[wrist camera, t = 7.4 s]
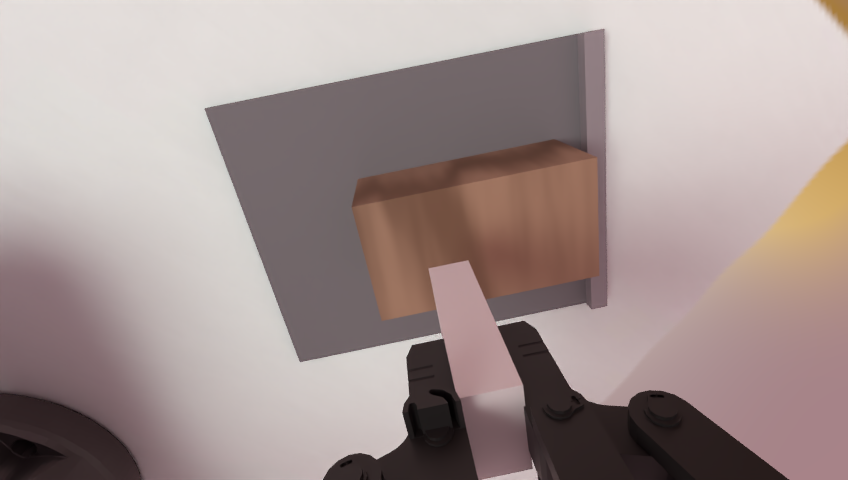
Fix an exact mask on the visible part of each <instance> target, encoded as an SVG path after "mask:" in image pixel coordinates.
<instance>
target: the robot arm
mask: <svg viewBox="0 0 848 480" xmlns="http://www.w3.org/2000/svg"><path fill="white" fill-rule="evenodd" d="M428 269H429V274H430V279H431V284H432V288H433V293H434V298H435V303H436V308H437V313H438V318H439V323H440V328H441V333H442V338H443V339H440V340H435V341H430V342H426V343H421V344H416V345H412V347H411V349H410V351H409V353H408V355H407V357H406V358H407V370H408V381H409V397H408V399H407V400H406V402H405V403H404V407H403V417H404V420H405V424H406V428H407V431H408V436H407V438H406V439H405V441H404V442H403V443H402V444H401V445H400V446H399V447H398V448H396V449H395V450H393V451H392V452H390V453H389V454H387V455H385V456H383V457H381V458H379V459H377V460H376V459H375V458H373V457H372V456H371V455H367V454H362V453H358V454H353V455H348V456H346V457H345V458H343V459H341V460H339V461H337V462H336V463H335V464H334V465H333V466H332V467H331V468H330V469H329V470H328V472H327V474H326V475H325V477H324V479H323V480H481V479H486V478H491V477H495V476H500V475H505V474H510V473H514V472H519V471H524V470H528V469H533V468H532V460H533V463H534V465H535V468H536V471H537V473H538V480H789V479H787V478H786V477H785V476H783V475H782V474H781V473H780V472H778V471H777V470H776V469H774V468H773V467H772V466H770V465H769V464H768V463H766V462H765V461H764V460H762V459H761V458H760V457H759V456H757V455H756V454H755V453H753V452H752V451H750V450H749V449H748V448H747V447H745V446H744V445H743V444H741V443H740V442H739V441H737V440H736V439H735V438H733V437H732V436H730V434H728V433H727V432H726V431H724V430H723V429H722V428H720V427H719V426H717V424H715V423H714V422H713V421H711V420H710V419H709V418H707V417H706V416H705V415H703V414H702V413H701V412H699V411H698V410H697V409H696V408H694V407H693V406H691V405H690V404H689V403H688V402H686V401H685V400H683V399H681V398H679V397H678V396H676V395H674V394H670V393H667V392H663V391H651V390H649V391H645V392H640V393H638V394H636V395H635V396H634V397H632V398H631V400H630V403H629V405H628V407H624V406H623V407H622V406H607V405H600V404H595V403H592V402H589V401H587V400H586V399H585V398H584V397H583V396H582V395H581V394H580V393H578V392H576V391H574V390H572V389H571V388H570V386H569V385H568V383H567V381H566V380H565V378H564V376H563V374H562V373H561V371H560V369H559V368H558V366H557V364H556V362H555V361H554V359H553V357H552V356H551V354H550V352H549V351H548V349H547V347H546V345H545V344H544V343H543V340H542V338H541V337H540V335H539V333H538V332H537V330H536V329H535V328H534V327H532V326H531V325H529V324H528V323H526V322H525V321H521V322H516V323H511V324H507V325H502V326H497V325H496V322H495V320H494V318H493V315H492V313H491V311H490V309H489V306H488V304H487V302H486V300H485V297H484V295H483V293H482V290H481V288H480V286H479V284H478V281H477V279H476V277H475V275H474V272H473V270H472V268H471V265H470V263H469V261H468V260H467V261H462V262H457V263H452V264H448V265H443V266H438V267H433V268H428ZM531 457H532V459H531ZM0 480H141V477H140V473H139V471H138V468H137V466H136V464H135V462H134V460H133V458H132V457H131V455H130V454H129V452H128V451H127V450H126V449H125V447H124V446H123V445H122V444H121V443H120V442H119V441H118V440H117V439H116V438H115V437H114V436H113V435H112V434H110V433H109V432H108V431H106V430H105V429H104V428H102V427H101V426H100V425H98V424H96V423H95V422H93V421H92V420H90V419H88V418H86V417H84V416H83V415H81V414H78V413H76V412H74V411H72V410H70V409H67V408H65V407H62V406H59V405H56V404H53V403H50V402H47V401H43V400H39V399H35V398H30V397H25V396H18V395H10V394H0Z"/></svg>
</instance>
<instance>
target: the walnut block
mask: <svg viewBox="0 0 848 480" xmlns="http://www.w3.org/2000/svg"><path fill="white" fill-rule="evenodd" d="M352 211H353V215H354V219H355V222H356V226H357V230H358V234H359V238H360V241H361V245H362V249H363V253H364V256H365V260H366V264H367V268H368V271H369V275H370V279H371V283H372V286H373V290H374V294H375V298H376V301H377V305H378V309H379V313H380V316H381V320H382V321H384V320H389V319H394V318H399V317H403V316H408V315H413V314H418V313H423V312H428V311H432V310H437V308H436V303H435V298H434V293H433V288H432V284H431V279H430V274H429V269H428V268H433V267H438V266H443V265H448V264H452V263H457V262H462V261H467V260H468V261H469V263H470V265H471V268H472V270H473V272H474V275H475V277H476V279H477V281H478V284H479V286H480V288H481V290H482V293H483V295H484V297H485V300H486V299H490V298H495V297H500V296H505V295H510V294H514V293H519V292H524V291H529V290H534V289H539V288H543V287H548V286H553V285H558V284H563V283H568V282H572V281H577V280H582V279H587V278H592V277H596V276H599V224H598V169H597V157H596V156H593V155H591V154H588V153H586V152H584V151H581V150H579V149H577V148H574V147H572V146H570V145H567V144H565V143H562V142H560V141H558V140H555V139H552V140H547V141H543V142H538V143H533V144H528V145H523V146H518V147H513V148H508V149H503V150H498V151H493V152H488V153H483V154H478V155H474V156H469V157H464V158H459V159H454V160H449V161H444V162H439V163H434V164H429V165H424V166H419V167H414V168H409V169H404V170H400V171H395V172H390V173H385V174H380V175H375V176H370V177H365V178H360V179H358V181H357V185H356V189H355V194H354V198H353V203H352Z"/></svg>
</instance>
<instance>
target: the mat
mask: <svg viewBox="0 0 848 480" xmlns="http://www.w3.org/2000/svg"><path fill="white" fill-rule="evenodd" d="M205 111H206V114H207V116H208V119H209V122H210V124H211V127H212V130H213V132H214V135H215V138H216V140H217V143H218V146H219V148H220V151H221V154H222V156H223V159H224V161H225V164H226V167H227V169H228V172H229V175H230V177H231V180H232V183H233V185H234V188H235V191H236V193H237V196H238V199H239V201H240V204H241V207H242V209H243V212H244V215H245V217H246V220H247V223H248V225H249V228H250V231H251V233H252V236H253V239H254V241H255V244H256V247H257V249H258V252H259V255H260V257H261V260H262V262H263V265H264V268H265V270H266V273H267V276H268V278H269V281H270V284H271V286H272V289H273V292H274V294H275V297H276V300H277V302H278V305H279V308H280V310H281V313H282V316H283V318H284V321H285V324H286V326H287V329H288V332H289V334H290V337H291V340H292V342H293V345H294V348H295V350H296V353H297V356H298V358H299V361H300V362H303V361H308V360H312V359H317V358H322V357H327V356H332V355H337V354H341V353H346V352H351V351H356V350H361V349H365V348H370V347H375V346H380V345H385V344H389V343H394V342H399V341H404V340H409V339H413V338H418V337H423V336H428V335H433V334H438V333H441V328H440V323H439V318H438V313H437V310H432V311H428V312H423V313H418V314H413V315H408V316H403V317H399V318H394V319H389V320H384V321H382V320H381V316H380V313H379V309H378V305H377V301H376V298H375V294H374V290H373V286H372V283H371V279H370V275H369V271H368V268H367V264H366V260H365V256H364V253H363V249H362V245H361V241H360V238H359V234H358V230H357V226H356V222H355V219H354V215H353V211H352V203H353V198H354V194H355V189H356V185H357V181H358V179H360V178H365V177H370V176H375V175H380V174H385V173H390V172H395V171H400V170H404V169H409V168H414V167H419V166H424V165H429V164H434V163H439V162H444V161H449V160H454V159H459V158H464V157H469V156H474V155H478V154H483V153H488V152H493V151H498V150H503V149H508V148H513V147H518V146H523V145H528V144H533V143H538V142H543V141H547V140H552V139H555V140H558V141H560V142H562V143H565V144H567V145H570V146H572V147H574V148H577V149H579V150H581V151H584V152H586V153H588V154H591V155H593V156H596V157H597V169H598V224H599V276H596V277H592V278H587V279H582V280H577V281H572V282H568V283H563V284H558V285H553V286H548V287H543V288H539V289H534V290H529V291H524V292H519V293H514V294H510V295H505V296H500V297H495V298H490V299H486V302H487V304H488V306H489V309H490V311H491V313H492V315H493V318H494V320H495V321H500V320H505V319H510V318H514V317H519V316H524V315H529V314H534V313H538V312H543V311H548V310H553V309H558V308H563V307H567V306H572V305H577V304H582V303H587V304H588V305H589V307H590V308H591V309H595V308H600V307H604V306H607V249H606V150H605V51H604V29H601V30H595V31H590V32H585V33H580V34H575V35H570V36H565V37H560V38H555V39H550V40H545V41H540V42H535V43H530V44H525V45H520V46H515V47H510V48H505V49H500V50H495V51H490V52H485V53H480V54H475V55H470V56H465V57H460V58H455V59H450V60H445V61H440V62H435V63H430V64H425V65H420V66H415V67H410V68H405V69H400V70H395V71H390V72H385V73H380V74H375V75H370V76H365V77H360V78H355V79H350V80H345V81H340V82H335V83H330V84H325V85H320V86H315V87H310V88H305V89H300V90H295V91H290V92H285V93H280V94H275V95H270V96H265V97H260V98H255V99H250V100H245V101H240V102H235V103H230V104H225V105H220V106H215V107H210V108H205Z"/></svg>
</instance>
